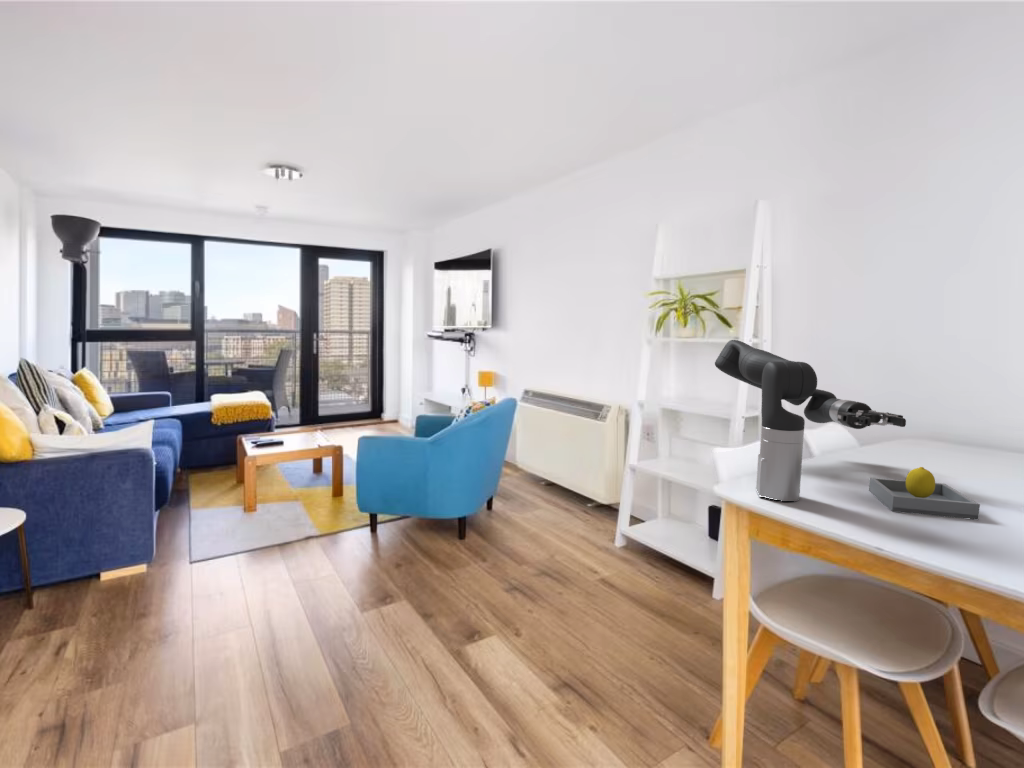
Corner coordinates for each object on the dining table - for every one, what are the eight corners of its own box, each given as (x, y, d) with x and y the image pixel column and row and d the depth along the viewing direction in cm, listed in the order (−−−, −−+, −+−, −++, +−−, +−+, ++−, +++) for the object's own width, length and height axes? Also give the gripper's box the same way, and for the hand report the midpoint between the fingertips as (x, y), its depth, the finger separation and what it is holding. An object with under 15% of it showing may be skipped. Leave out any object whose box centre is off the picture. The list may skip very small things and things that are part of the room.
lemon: (939, 504, 121) (942, 470, 120) (912, 503, 122) (915, 469, 121) (925, 496, 126) (928, 464, 125) (899, 495, 127) (902, 463, 126)
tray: (892, 511, 119) (893, 496, 119) (868, 490, 134) (869, 477, 134) (978, 519, 114) (979, 504, 114) (943, 497, 129) (945, 483, 129)
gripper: (825, 400, 151) (859, 407, 135) (876, 401, 150) (916, 408, 134) (823, 426, 152) (857, 436, 136) (874, 427, 151) (914, 437, 135)
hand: (886, 422), depth 135 cm, fingers open, 8 cm apart
